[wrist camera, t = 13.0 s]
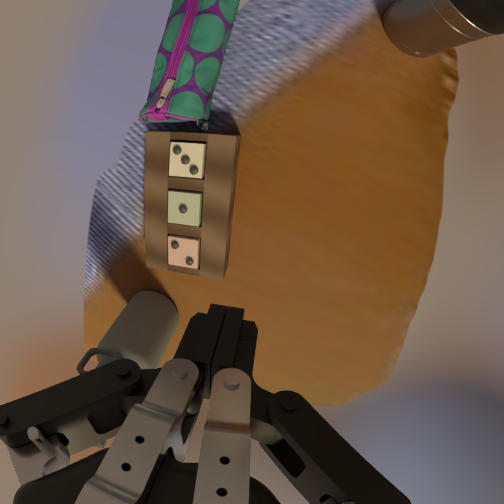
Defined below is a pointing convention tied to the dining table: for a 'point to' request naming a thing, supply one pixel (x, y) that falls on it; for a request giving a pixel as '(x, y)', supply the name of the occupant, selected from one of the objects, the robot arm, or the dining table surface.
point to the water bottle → (137, 333)
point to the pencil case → (189, 61)
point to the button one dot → (185, 207)
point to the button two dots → (184, 251)
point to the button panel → (214, 187)
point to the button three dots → (187, 159)
